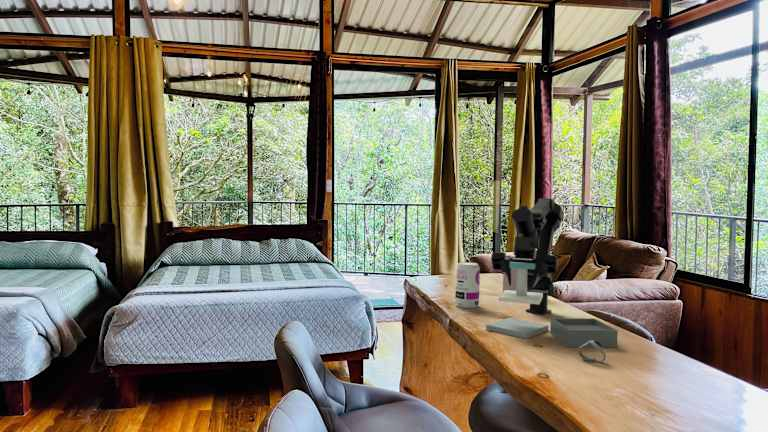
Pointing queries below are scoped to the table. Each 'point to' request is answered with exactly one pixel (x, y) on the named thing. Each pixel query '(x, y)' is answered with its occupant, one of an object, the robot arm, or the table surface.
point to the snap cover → (521, 286)
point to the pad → (517, 327)
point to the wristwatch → (597, 346)
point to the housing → (583, 332)
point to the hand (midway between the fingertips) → (521, 285)
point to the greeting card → (513, 280)
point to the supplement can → (467, 285)
